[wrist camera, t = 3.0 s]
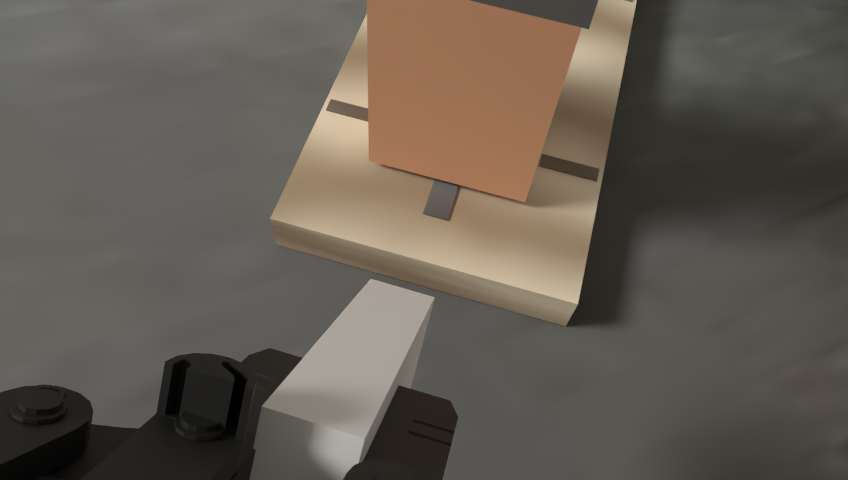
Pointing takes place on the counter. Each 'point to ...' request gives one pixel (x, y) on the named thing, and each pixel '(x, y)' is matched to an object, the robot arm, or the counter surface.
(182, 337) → the counter surface
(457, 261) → the fader board
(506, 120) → the fader knob
